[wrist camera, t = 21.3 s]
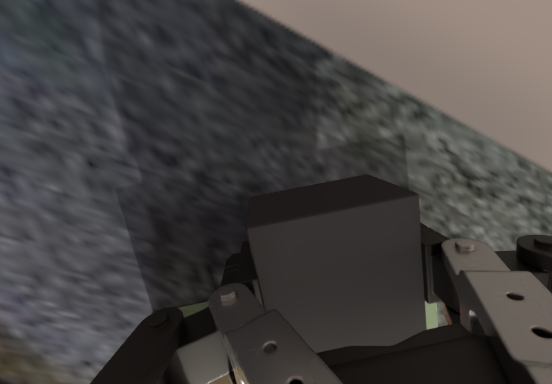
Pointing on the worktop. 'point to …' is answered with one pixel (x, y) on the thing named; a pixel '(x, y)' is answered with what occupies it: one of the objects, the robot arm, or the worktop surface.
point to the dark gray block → (341, 261)
